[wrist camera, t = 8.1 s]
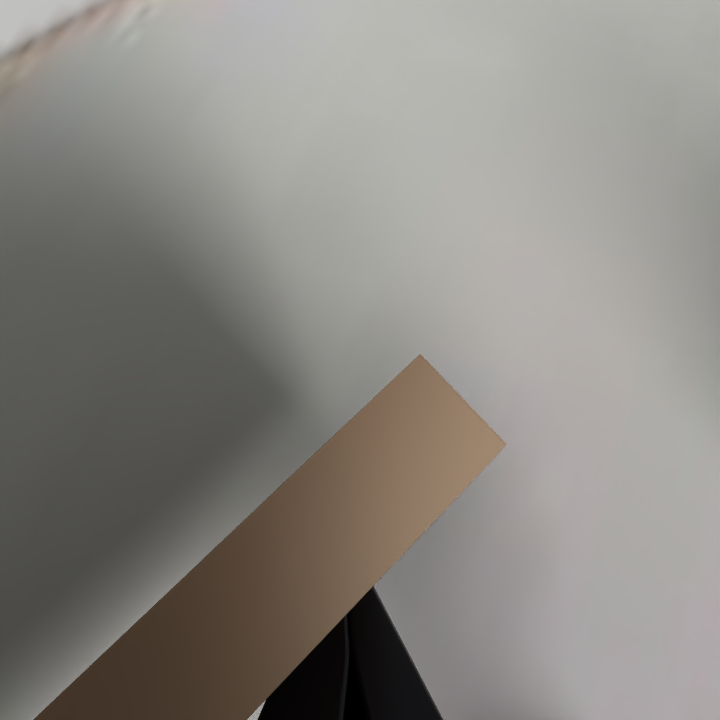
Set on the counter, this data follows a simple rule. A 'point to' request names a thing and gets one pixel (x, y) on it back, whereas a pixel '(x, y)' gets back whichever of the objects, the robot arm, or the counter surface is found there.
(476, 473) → the gate leaf
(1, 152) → the counter surface
